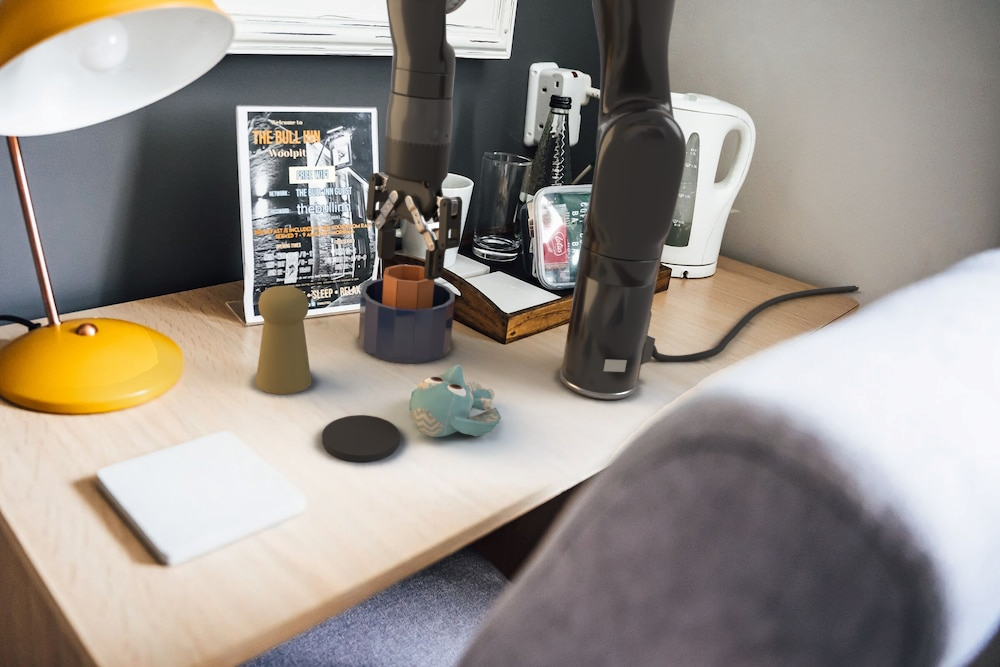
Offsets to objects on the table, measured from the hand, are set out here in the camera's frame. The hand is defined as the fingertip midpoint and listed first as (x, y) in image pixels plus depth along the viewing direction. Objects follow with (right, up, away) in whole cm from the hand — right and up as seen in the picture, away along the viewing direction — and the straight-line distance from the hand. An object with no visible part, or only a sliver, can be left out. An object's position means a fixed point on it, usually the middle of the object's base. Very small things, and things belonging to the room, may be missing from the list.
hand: (408, 267), depth 95 cm
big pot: (-1, -9, +4) cm, 10 cm away
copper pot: (-1, -9, +4) cm, 10 cm away
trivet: (-3, -19, -18) cm, 26 cm away
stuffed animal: (+6, -18, -12) cm, 23 cm away
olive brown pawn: (-13, -14, -9) cm, 21 cm away
